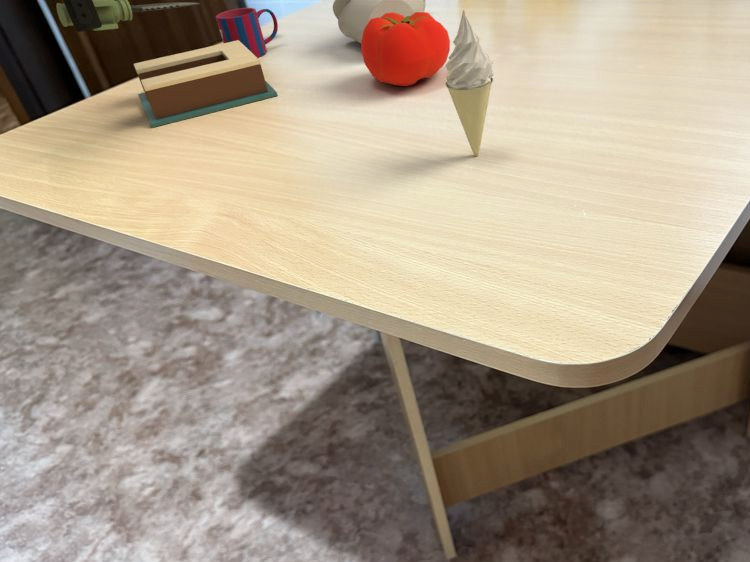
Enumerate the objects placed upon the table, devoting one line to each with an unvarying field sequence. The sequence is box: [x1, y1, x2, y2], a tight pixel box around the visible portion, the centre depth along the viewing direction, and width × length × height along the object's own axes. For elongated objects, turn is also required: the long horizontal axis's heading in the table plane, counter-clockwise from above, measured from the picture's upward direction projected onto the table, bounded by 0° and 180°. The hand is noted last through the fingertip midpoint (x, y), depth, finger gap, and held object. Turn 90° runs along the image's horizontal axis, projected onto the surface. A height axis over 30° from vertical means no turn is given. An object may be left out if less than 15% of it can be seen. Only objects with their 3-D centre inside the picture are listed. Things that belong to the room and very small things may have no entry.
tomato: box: [360, 11, 451, 87], centre depth 97 cm, size 14×13×9 cm
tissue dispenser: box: [133, 40, 278, 128], centre depth 102 cm, size 18×16×5 cm
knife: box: [55, 0, 201, 32], centre depth 93 cm, size 4×18×5 cm
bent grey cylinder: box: [332, 0, 426, 44], centre depth 115 cm, size 18×11×20 cm
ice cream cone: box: [444, 9, 495, 157], centre depth 72 cm, size 5×5×15 cm
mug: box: [215, 7, 279, 59], centre depth 118 cm, size 7×10×7 cm
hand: (87, 23), depth 90 cm, fingers closed on knife, 5 cm apart
